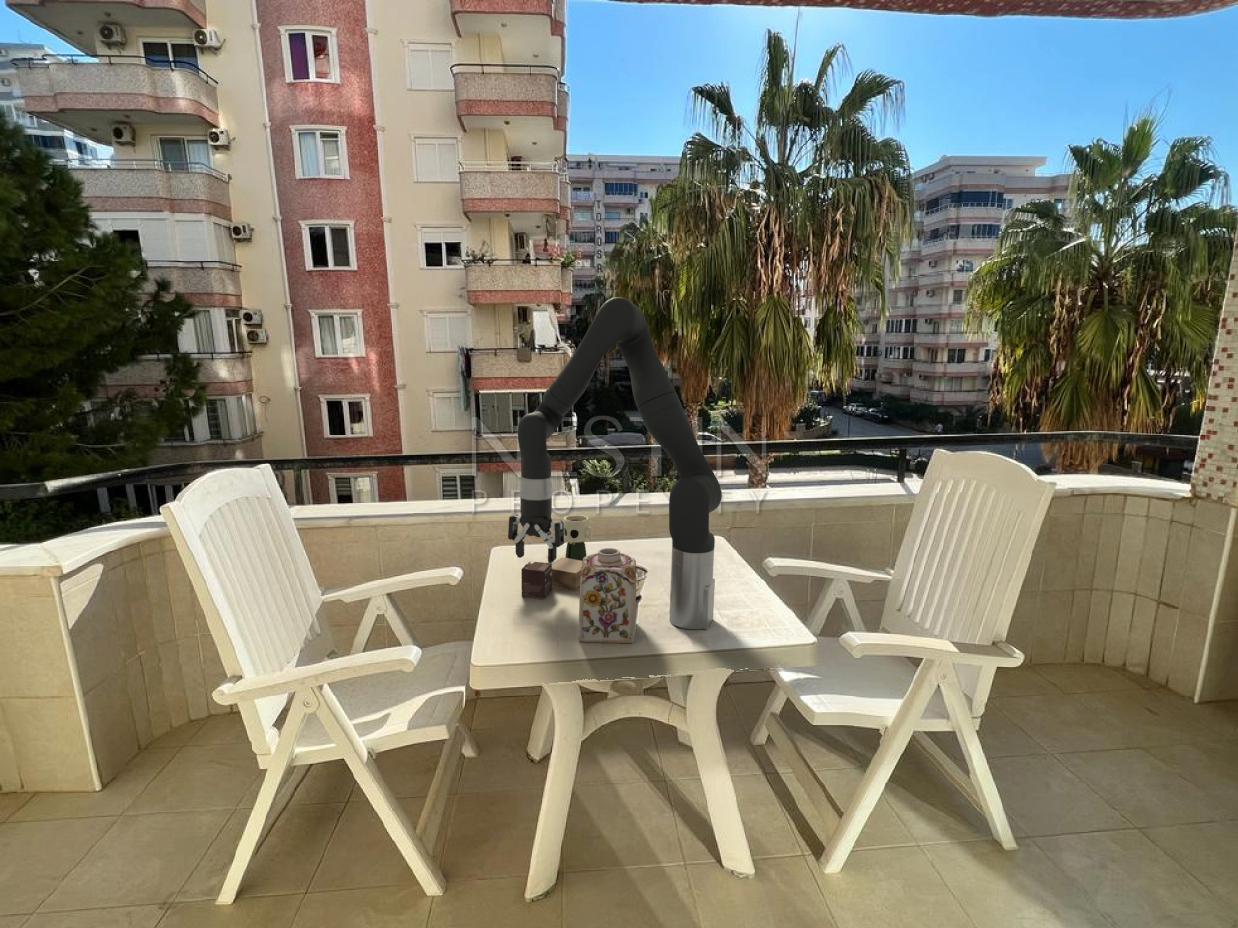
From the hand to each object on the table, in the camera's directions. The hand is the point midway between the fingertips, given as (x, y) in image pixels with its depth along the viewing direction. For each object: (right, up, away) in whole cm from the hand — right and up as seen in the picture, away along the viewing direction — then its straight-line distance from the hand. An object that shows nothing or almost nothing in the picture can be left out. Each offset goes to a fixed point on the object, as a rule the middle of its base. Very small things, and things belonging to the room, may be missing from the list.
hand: (535, 559), depth 146 cm
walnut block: (+7, -8, +9) cm, 14 cm away
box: (0, -9, +1) cm, 9 cm away
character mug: (+8, -5, +25) cm, 26 cm away
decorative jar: (+18, -13, -18) cm, 29 cm away
